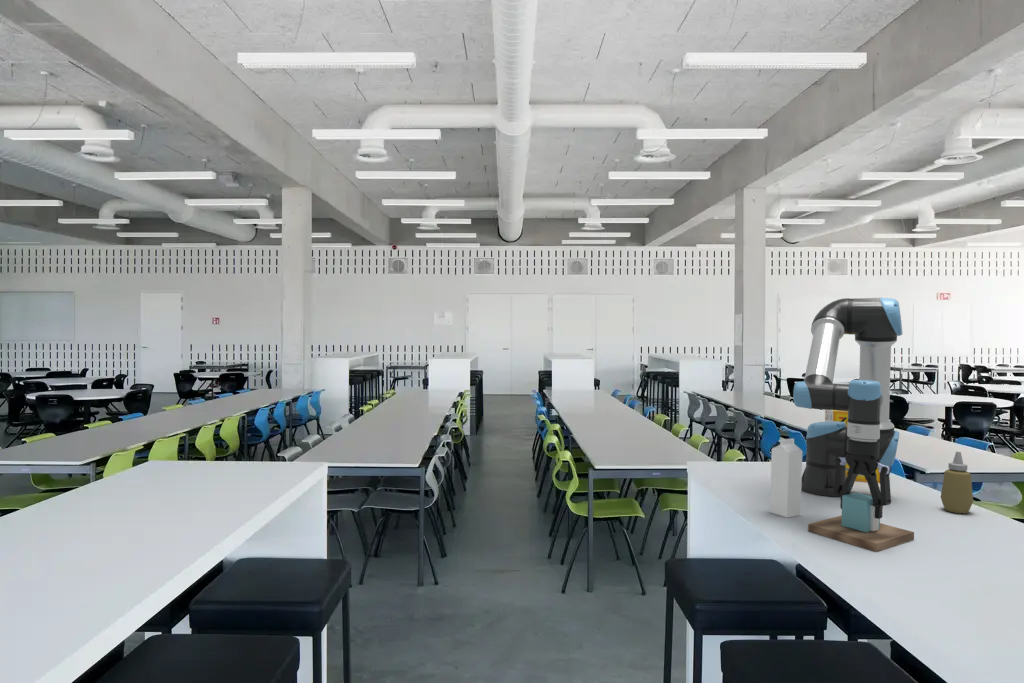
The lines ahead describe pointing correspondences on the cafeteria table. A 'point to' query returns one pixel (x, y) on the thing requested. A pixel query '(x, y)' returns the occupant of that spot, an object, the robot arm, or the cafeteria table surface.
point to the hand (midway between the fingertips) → (860, 526)
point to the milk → (786, 479)
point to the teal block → (857, 511)
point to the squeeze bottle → (957, 487)
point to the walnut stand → (861, 534)
